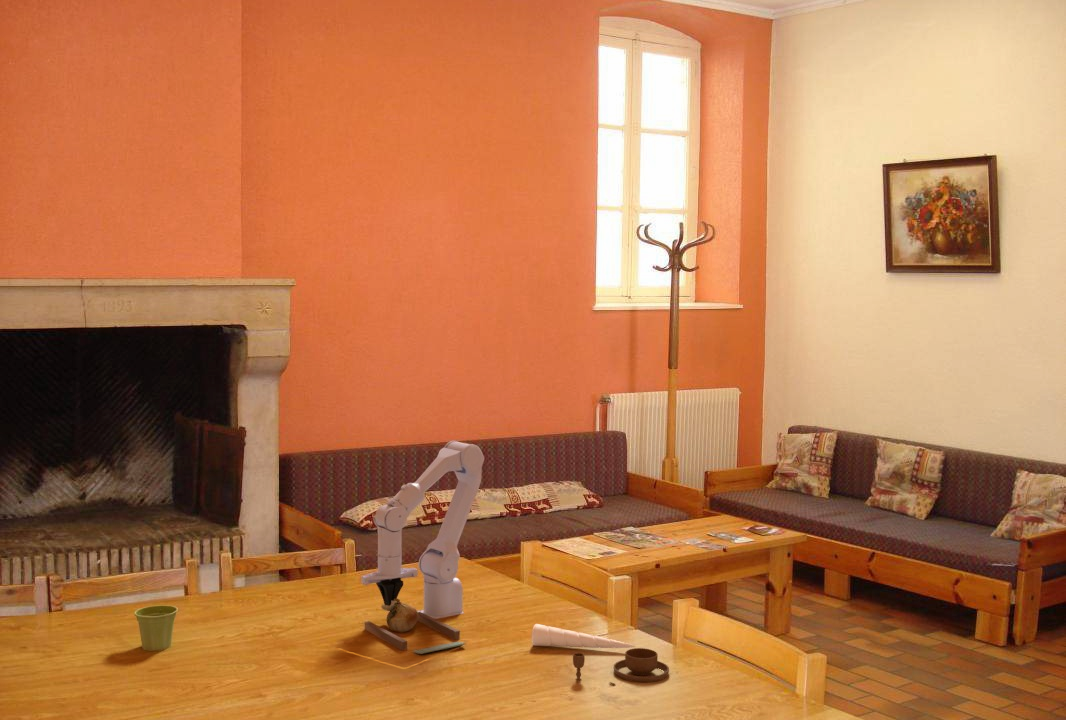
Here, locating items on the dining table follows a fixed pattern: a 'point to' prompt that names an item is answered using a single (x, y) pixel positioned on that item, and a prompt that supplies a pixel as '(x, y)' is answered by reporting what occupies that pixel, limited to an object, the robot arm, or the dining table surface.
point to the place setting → (631, 665)
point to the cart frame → (402, 643)
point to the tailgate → (438, 647)
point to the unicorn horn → (571, 639)
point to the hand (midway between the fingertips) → (389, 609)
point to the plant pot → (156, 626)
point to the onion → (400, 616)
